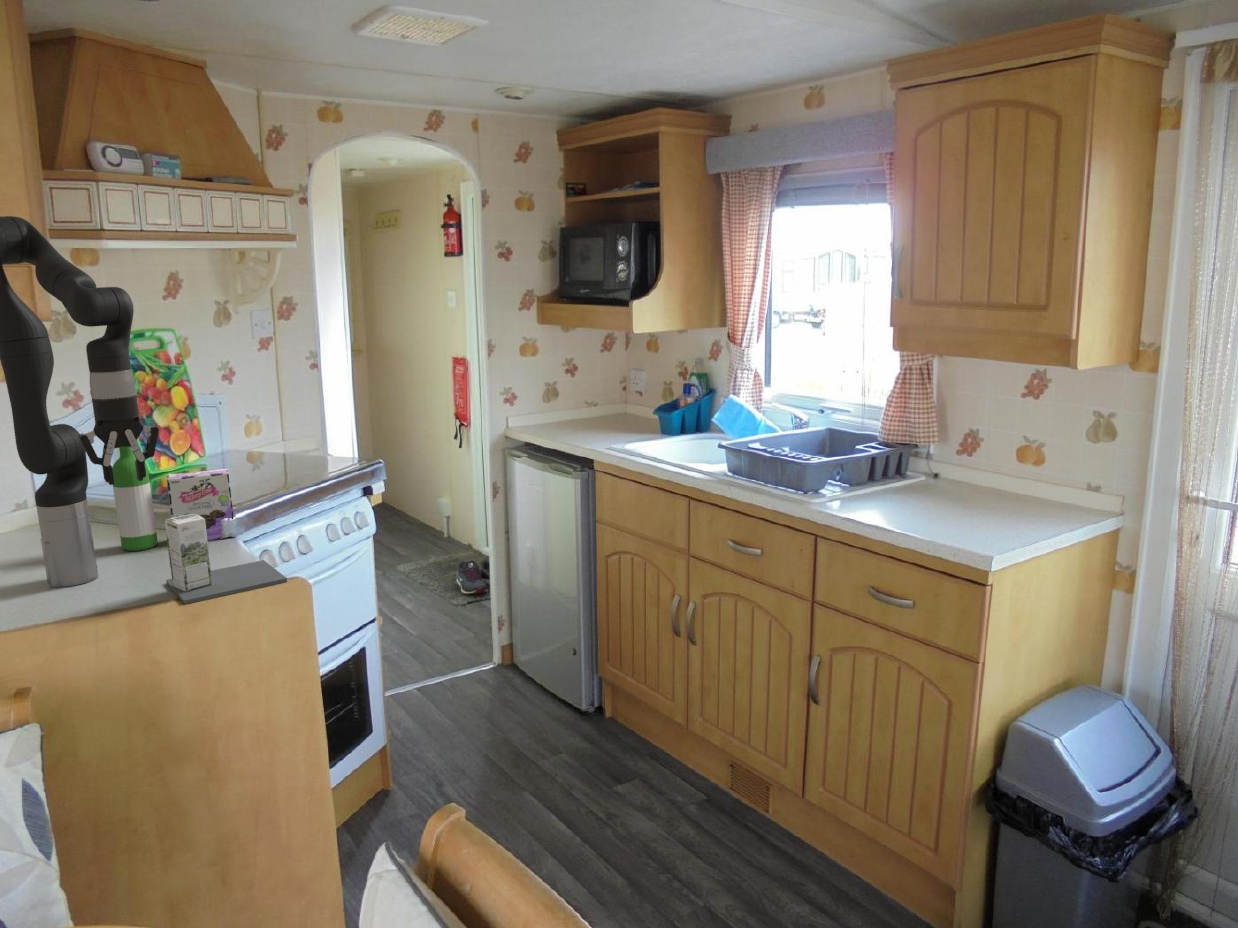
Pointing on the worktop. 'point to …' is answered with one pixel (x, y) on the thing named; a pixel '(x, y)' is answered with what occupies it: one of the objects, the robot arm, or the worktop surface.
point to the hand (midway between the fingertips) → (126, 481)
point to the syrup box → (188, 552)
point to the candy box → (202, 497)
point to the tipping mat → (232, 581)
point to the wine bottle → (133, 504)
